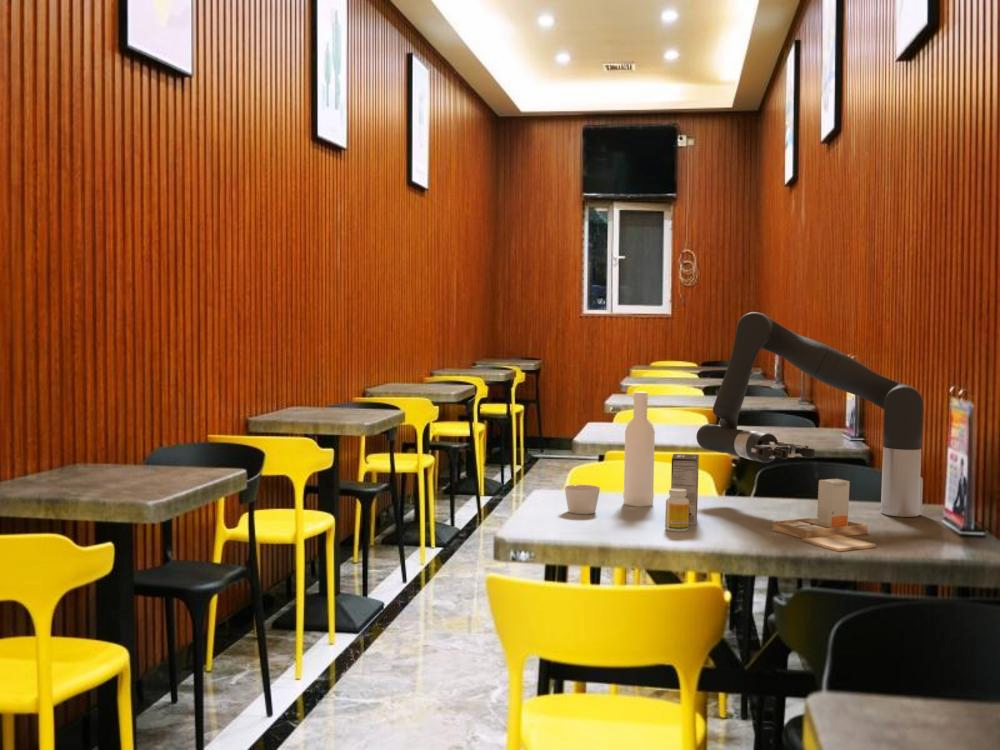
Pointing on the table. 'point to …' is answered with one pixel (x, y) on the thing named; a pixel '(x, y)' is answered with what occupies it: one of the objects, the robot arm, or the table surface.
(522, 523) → the table surface
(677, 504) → the supplement bottle
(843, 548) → the coaster
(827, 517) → the skincare box
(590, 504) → the beige cup
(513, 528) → the table surface
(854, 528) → the light wood flat frame
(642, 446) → the bottle
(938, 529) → the table surface
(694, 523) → the coffee box
